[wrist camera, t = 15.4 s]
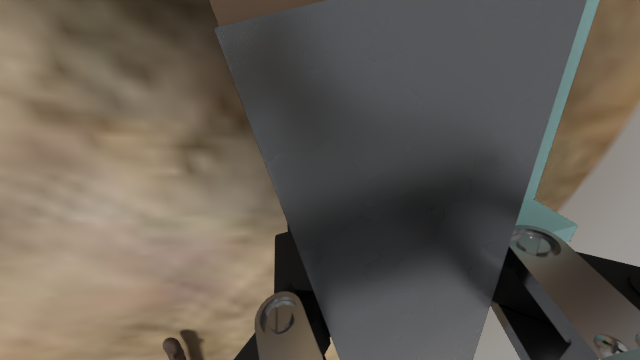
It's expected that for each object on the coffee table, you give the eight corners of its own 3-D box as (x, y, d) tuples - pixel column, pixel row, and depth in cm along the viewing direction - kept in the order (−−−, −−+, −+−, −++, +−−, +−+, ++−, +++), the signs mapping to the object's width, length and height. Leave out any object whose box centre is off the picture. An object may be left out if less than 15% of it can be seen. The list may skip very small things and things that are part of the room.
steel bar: (251, 41, 6) (213, 28, 2) (418, -1, 6) (608, -70, 3) (340, 321, 13) (362, 419, 10) (415, 300, 13) (463, 388, 10)
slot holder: (438, -145, 9) (541, -273, 5) (633, -190, 9) (855, -344, 5) (425, 232, 19) (458, 272, 15) (517, 206, 19) (570, 241, 16)
